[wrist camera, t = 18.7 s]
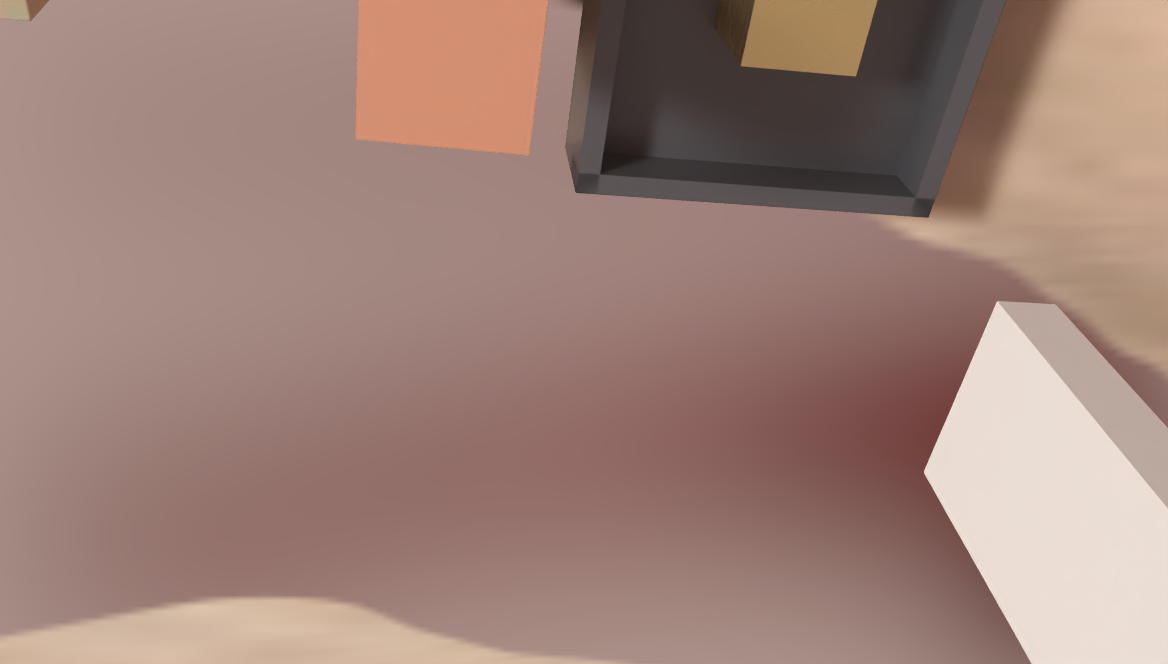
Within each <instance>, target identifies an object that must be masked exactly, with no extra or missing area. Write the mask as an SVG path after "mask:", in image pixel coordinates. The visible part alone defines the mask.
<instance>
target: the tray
mask: <svg viewBox="0 0 1168 664" xmlns="http://www.w3.org/2000/svg"><path fill="white" fill-rule="evenodd" d="M1005 1H1006V0H877V4H876V7H875V11H874V14H873V18H872V21H871V25H870V28H869V32H868V36H867V39H866V43H865V46H864V50H863V53H862V57H861V60H860V64H859V67H858V71H857V74H856V76H845V75H834V74H823V73H812V72H800V71H789V70H778V69H767V68H756V67H745V66H740V64H739V63H738V62H737V60H736V59H735V57H734V56H733V55H732V53H731V52H730V50H729V49H728V47H727V46H726V45H725V43H724V42H723V40H722V39H721V38H720V36H719V35H718V33H717V32H716V31H715V29H714V28H715V23H716V18H717V13H718V8H719V3H720V0H584V3H583V10H582V18H581V26H580V34H579V43H578V50H577V59H576V66H575V74H574V82H573V90H572V98H571V106H570V114H569V121H568V129H567V138H566V145H565V148H566V152H567V157H568V161H569V166H570V170H571V174H572V179H573V183H574V187H575V192H576V193H586V194H600V195H615V196H628V197H643V198H658V199H671V200H686V201H699V202H714V203H728V204H742V205H758V206H771V207H785V208H800V209H813V210H829V211H842V212H856V213H870V214H884V215H899V216H913V217H927V218H929V215H930V212H931V209H932V206H933V203H934V201H935V198H936V195H937V192H938V189H939V187H940V184H941V181H942V178H943V175H944V173H945V170H946V167H947V164H948V161H949V158H950V156H951V153H952V150H953V147H954V144H955V142H956V139H957V136H958V133H959V130H960V128H961V125H962V122H963V119H964V116H965V113H966V111H967V108H968V105H969V102H970V99H971V97H972V94H973V91H974V88H975V85H976V82H977V80H978V77H979V74H980V71H981V68H982V66H983V63H984V60H985V57H986V54H987V52H988V49H989V46H990V43H991V40H992V37H993V35H994V32H995V29H996V26H997V23H998V21H999V18H1000V15H1001V12H1002V9H1003V7H1004V4H1005Z"/></svg>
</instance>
